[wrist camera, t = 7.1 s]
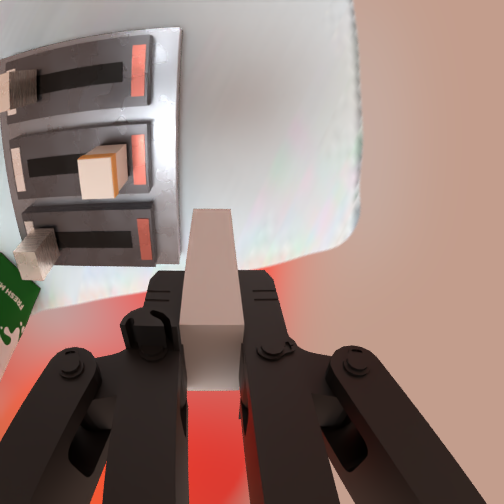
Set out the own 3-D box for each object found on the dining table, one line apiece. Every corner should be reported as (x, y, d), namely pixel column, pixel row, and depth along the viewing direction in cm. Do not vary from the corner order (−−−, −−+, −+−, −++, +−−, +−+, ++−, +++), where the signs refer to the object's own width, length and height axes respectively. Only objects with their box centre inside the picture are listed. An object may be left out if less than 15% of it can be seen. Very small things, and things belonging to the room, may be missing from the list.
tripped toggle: (96, 145, 21) (76, 159, 18) (126, 143, 21) (111, 157, 18) (99, 180, 22) (81, 200, 19) (128, 179, 23) (114, 198, 19)
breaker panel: (10, 59, 18) (-42, 65, 11) (182, 30, 20) (169, 12, 14) (35, 252, 29) (3, 296, 22) (180, 252, 31) (173, 305, 25)
